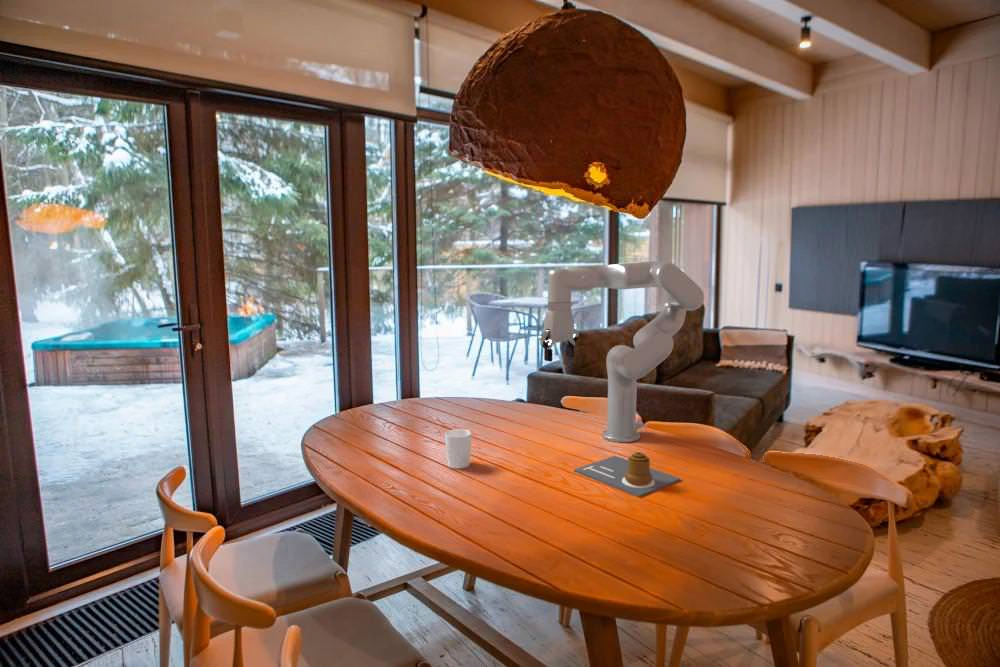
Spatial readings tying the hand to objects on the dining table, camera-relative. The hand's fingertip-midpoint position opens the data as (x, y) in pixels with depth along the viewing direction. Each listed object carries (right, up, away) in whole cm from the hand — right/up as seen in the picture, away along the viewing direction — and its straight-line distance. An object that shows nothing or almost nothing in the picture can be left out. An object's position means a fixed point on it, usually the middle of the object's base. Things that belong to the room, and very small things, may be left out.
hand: (559, 358), depth 205 cm
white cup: (-32, -32, -16) cm, 48 cm away
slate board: (+17, -33, -26) cm, 45 cm away
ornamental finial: (+19, -33, -31) cm, 49 cm away
